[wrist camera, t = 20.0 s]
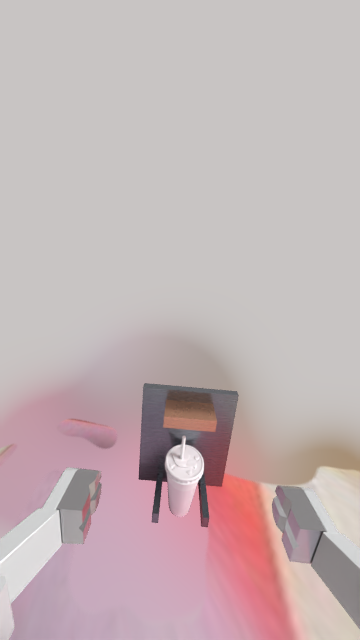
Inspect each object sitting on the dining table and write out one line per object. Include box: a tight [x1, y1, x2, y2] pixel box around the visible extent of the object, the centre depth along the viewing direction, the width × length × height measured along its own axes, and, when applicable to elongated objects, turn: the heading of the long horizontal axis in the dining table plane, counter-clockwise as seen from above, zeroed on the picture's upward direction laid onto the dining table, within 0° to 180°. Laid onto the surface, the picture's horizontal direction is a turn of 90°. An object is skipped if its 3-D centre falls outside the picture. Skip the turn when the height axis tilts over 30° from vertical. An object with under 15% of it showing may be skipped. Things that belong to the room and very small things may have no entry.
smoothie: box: [165, 436, 204, 517], centre depth 33 cm, size 6×6×14 cm
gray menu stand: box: [139, 383, 238, 527], centre depth 34 cm, size 16×8×20 cm, turn 89°
